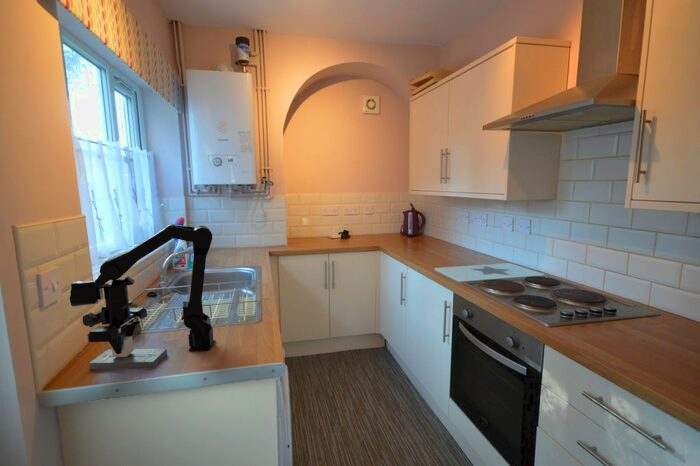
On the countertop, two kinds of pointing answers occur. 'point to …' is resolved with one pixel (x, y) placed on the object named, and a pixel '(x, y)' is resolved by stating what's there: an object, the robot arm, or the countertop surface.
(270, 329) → the countertop surface
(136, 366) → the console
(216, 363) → the countertop surface
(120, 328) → the robot arm
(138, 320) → the cork
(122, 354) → the block
